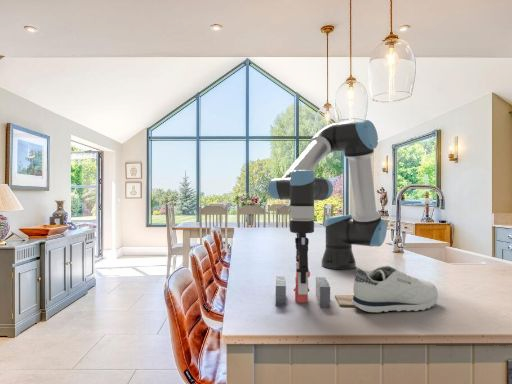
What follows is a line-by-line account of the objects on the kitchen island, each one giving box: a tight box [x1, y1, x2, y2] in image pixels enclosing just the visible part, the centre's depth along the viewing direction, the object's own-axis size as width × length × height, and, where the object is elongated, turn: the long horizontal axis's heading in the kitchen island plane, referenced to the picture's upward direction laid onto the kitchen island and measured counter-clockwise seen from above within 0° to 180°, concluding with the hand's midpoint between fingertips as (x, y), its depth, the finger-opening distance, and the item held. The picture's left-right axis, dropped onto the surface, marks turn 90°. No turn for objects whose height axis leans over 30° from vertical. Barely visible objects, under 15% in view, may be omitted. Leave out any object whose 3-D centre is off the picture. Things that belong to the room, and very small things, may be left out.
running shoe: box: [352, 265, 438, 313], centre depth 108 cm, size 11×29×12 cm, turn 112°
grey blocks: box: [275, 276, 331, 308], centre depth 114 cm, size 12×16×6 cm
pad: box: [334, 294, 357, 308], centre depth 113 cm, size 10×10×1 cm
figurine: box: [293, 255, 311, 304], centre depth 114 cm, size 5×5×15 cm
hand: (301, 288), depth 114 cm, fingers open, 13 cm apart
